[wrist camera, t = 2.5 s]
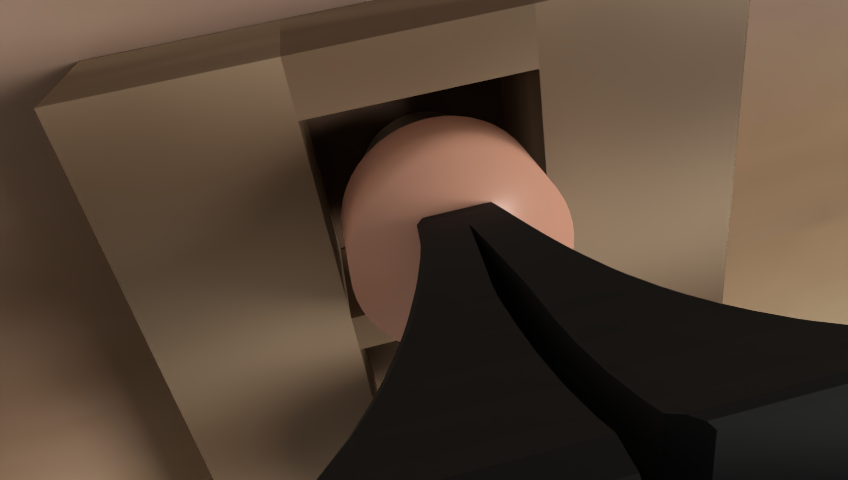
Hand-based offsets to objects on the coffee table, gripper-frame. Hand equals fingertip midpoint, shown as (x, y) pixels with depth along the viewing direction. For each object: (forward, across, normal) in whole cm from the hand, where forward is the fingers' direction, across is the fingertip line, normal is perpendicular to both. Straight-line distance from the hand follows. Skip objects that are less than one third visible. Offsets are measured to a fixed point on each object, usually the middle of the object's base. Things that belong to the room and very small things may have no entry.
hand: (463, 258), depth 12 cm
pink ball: (+4, 0, 0) cm, 4 cm away
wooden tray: (+5, 0, +6) cm, 8 cm away
